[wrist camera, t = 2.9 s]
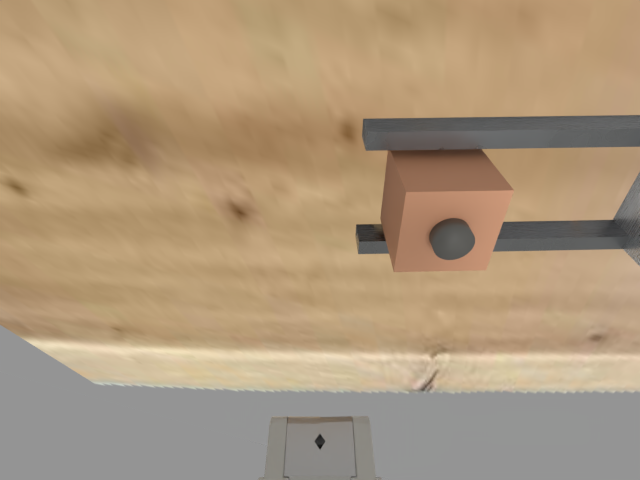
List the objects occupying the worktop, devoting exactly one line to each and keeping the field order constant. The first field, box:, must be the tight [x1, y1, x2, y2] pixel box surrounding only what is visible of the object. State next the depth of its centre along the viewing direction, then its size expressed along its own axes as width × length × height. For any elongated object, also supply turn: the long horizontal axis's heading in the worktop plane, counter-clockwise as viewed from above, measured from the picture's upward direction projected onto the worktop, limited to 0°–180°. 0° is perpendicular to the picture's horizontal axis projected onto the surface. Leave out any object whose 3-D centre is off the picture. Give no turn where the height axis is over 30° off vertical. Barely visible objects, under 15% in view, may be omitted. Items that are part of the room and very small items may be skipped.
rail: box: [355, 115, 640, 266], centre depth 22 cm, size 19×8×5 cm, turn 90°
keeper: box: [380, 149, 514, 272], centre depth 21 cm, size 5×5×6 cm
